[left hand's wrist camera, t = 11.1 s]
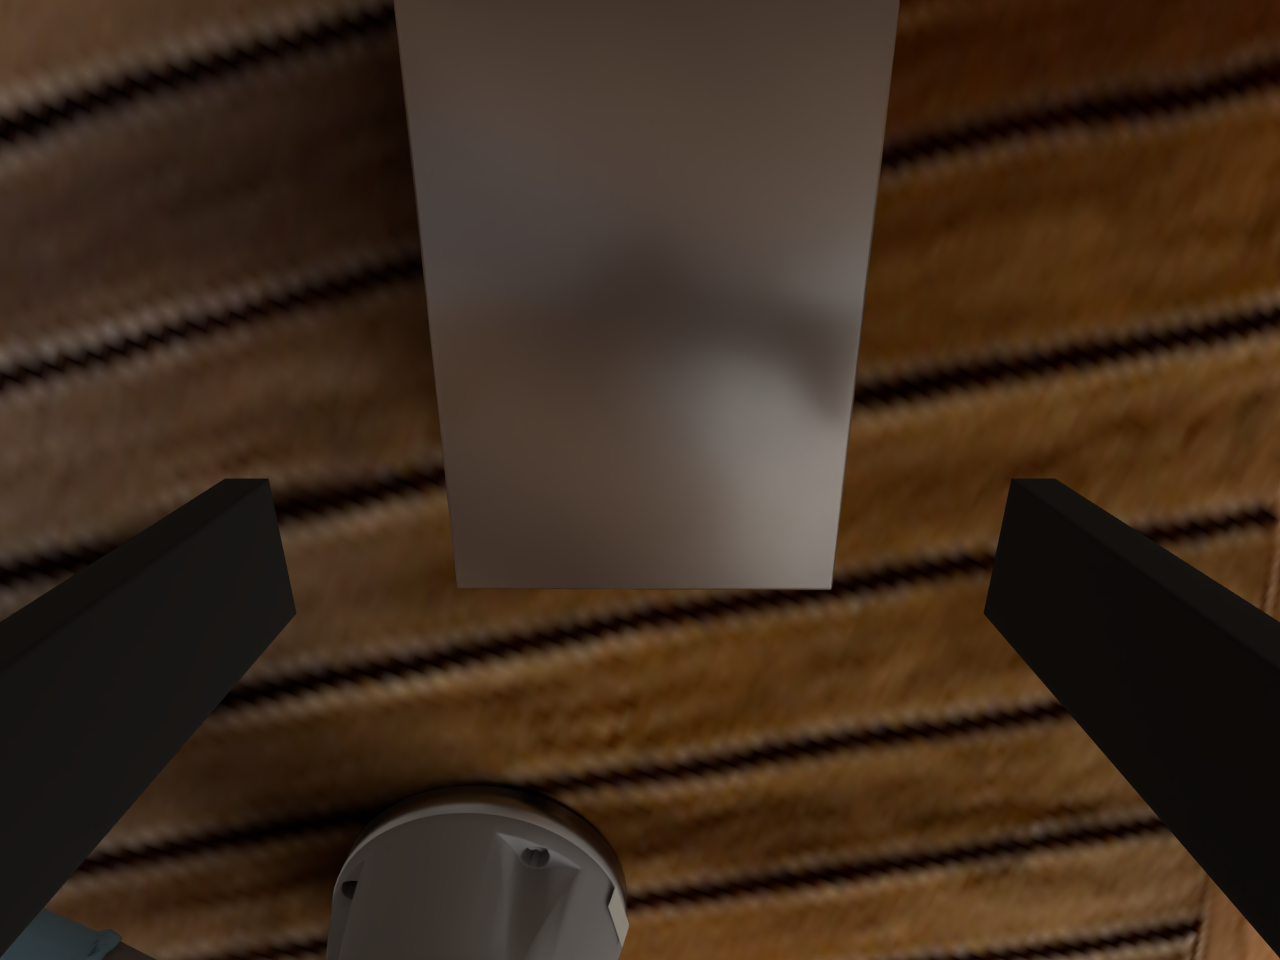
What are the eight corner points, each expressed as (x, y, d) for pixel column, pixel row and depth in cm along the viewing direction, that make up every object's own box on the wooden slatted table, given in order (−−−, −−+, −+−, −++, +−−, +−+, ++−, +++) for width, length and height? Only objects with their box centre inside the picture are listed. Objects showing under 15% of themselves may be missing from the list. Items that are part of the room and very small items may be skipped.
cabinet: (480, -39, 23) (369, -209, 13) (811, -39, 22) (926, -210, 13) (515, 469, 29) (456, 589, 20) (772, 470, 29) (832, 591, 20)
